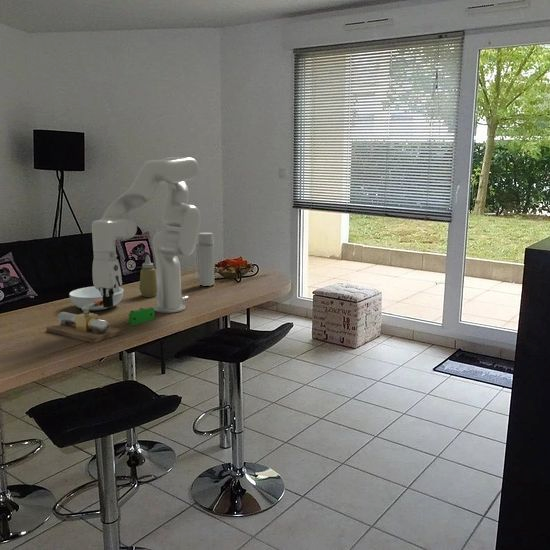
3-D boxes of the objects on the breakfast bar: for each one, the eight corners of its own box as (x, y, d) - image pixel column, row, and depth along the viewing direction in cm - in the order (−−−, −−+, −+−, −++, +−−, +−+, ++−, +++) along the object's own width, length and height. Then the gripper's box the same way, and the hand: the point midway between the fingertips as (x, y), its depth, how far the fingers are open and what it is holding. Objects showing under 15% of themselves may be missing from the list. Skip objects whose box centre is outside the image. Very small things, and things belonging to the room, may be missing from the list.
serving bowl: (98, 299, 248) (97, 283, 246) (135, 305, 238) (134, 289, 236) (58, 310, 230) (57, 293, 229) (96, 317, 220) (95, 299, 219)
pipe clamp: (147, 318, 220) (147, 306, 219) (154, 319, 218) (154, 307, 217) (124, 324, 211) (124, 312, 210) (131, 326, 209) (131, 313, 208)
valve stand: (74, 323, 212) (74, 319, 211) (121, 333, 199) (121, 329, 199) (46, 331, 202) (46, 327, 201) (93, 343, 189) (93, 338, 189)
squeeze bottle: (157, 293, 259) (155, 253, 255) (159, 297, 251) (158, 256, 248) (138, 294, 256) (137, 254, 253) (140, 298, 249) (138, 257, 245)
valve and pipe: (68, 321, 208) (67, 308, 207) (111, 331, 196) (110, 317, 195) (56, 325, 204) (55, 311, 203) (99, 335, 192) (98, 320, 191)
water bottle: (217, 284, 278) (216, 232, 273) (211, 287, 270) (210, 234, 265) (198, 283, 280) (197, 231, 275) (193, 286, 272) (191, 234, 267)
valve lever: (87, 315, 196) (87, 307, 196) (80, 314, 197) (79, 306, 196) (109, 306, 209) (108, 298, 208) (102, 305, 210) (101, 297, 209)
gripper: (128, 255, 201) (131, 306, 205) (97, 252, 208) (101, 301, 212) (112, 259, 194) (116, 312, 198) (81, 255, 202) (85, 306, 205)
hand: (108, 306), depth 205 cm, fingers closed
